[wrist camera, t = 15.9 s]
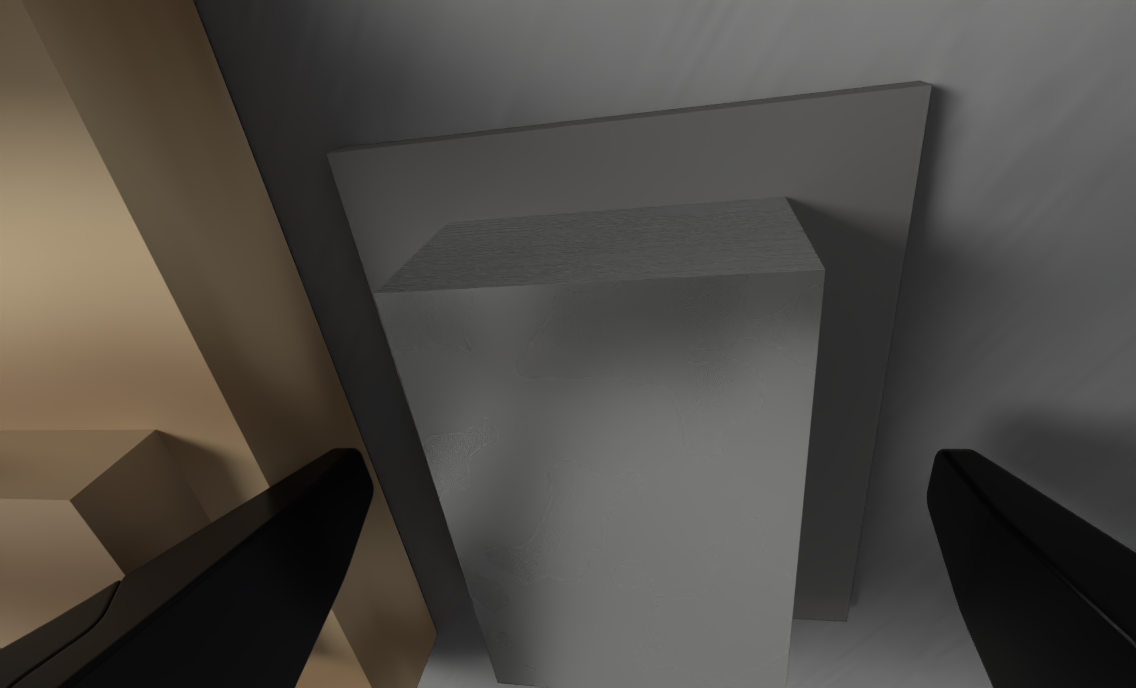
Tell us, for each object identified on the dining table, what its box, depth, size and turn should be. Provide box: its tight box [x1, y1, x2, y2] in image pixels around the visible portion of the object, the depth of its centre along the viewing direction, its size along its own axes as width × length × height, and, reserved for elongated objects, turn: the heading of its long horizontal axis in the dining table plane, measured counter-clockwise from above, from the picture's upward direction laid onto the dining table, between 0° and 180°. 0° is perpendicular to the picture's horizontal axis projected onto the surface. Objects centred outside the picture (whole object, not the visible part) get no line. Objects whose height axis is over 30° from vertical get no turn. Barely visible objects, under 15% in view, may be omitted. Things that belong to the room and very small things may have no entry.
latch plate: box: [0, 0, 437, 688], centre depth 10 cm, size 17×7×4 cm, turn 8°
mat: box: [326, 81, 932, 622], centre depth 10 cm, size 10×8×1 cm
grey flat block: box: [374, 196, 825, 688], centre depth 9 cm, size 8×5×2 cm, turn 8°
